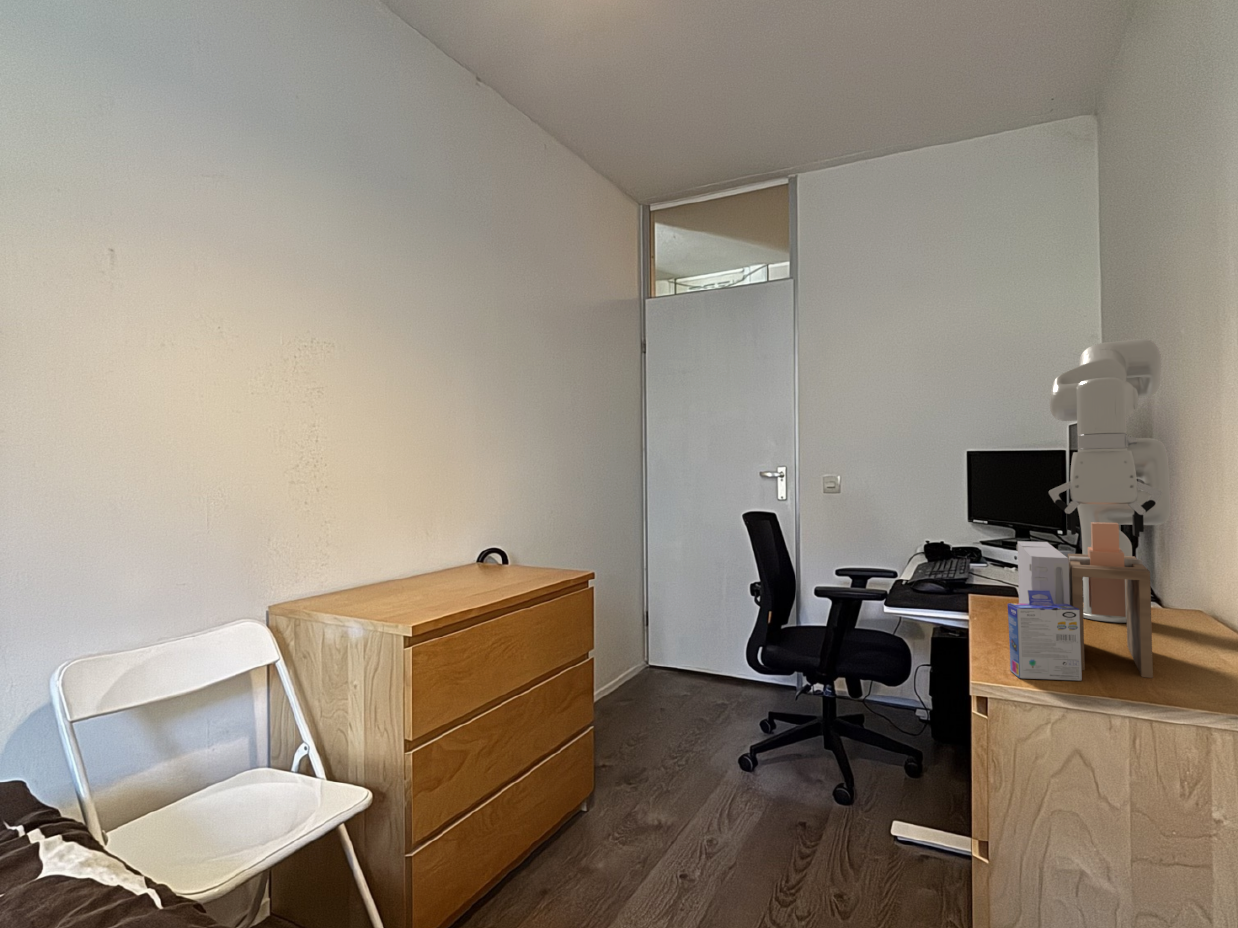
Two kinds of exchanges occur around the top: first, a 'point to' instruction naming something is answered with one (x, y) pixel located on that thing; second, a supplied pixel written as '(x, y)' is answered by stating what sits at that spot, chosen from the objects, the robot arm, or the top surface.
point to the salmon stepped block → (1106, 552)
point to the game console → (1042, 572)
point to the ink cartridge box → (1044, 639)
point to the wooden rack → (1135, 603)
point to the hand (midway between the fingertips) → (1104, 535)
